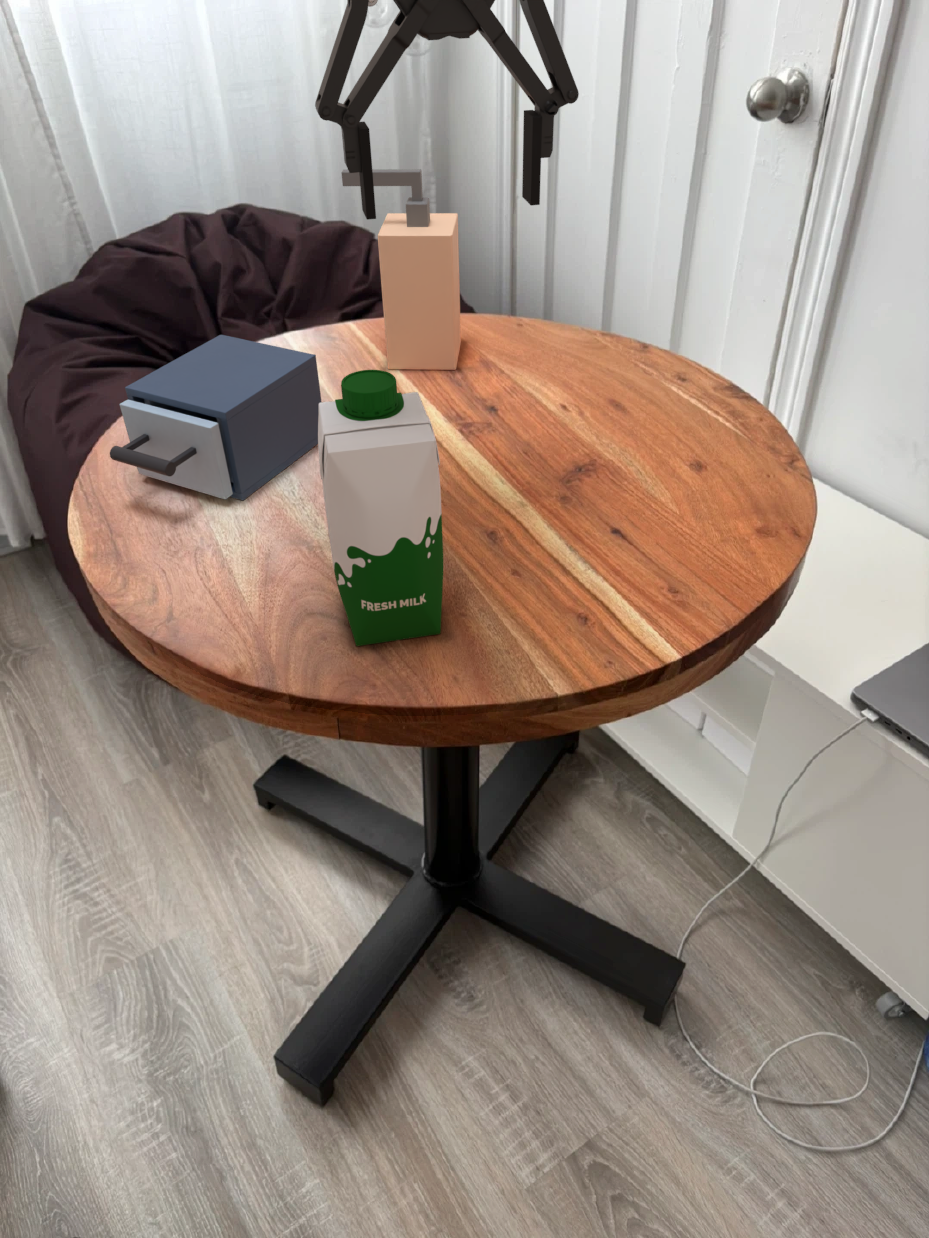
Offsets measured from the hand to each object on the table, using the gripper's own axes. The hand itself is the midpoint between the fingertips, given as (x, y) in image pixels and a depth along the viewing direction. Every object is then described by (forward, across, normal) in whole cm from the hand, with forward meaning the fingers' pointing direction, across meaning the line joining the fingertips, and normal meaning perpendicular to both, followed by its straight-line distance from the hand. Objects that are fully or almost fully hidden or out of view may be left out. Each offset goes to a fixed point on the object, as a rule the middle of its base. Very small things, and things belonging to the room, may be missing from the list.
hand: (451, 208), depth 76 cm
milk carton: (+27, +10, +18) cm, 34 cm away
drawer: (+26, +24, -9) cm, 37 cm away
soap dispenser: (+27, -1, -34) cm, 43 cm away
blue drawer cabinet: (+27, +22, -13) cm, 37 cm away
